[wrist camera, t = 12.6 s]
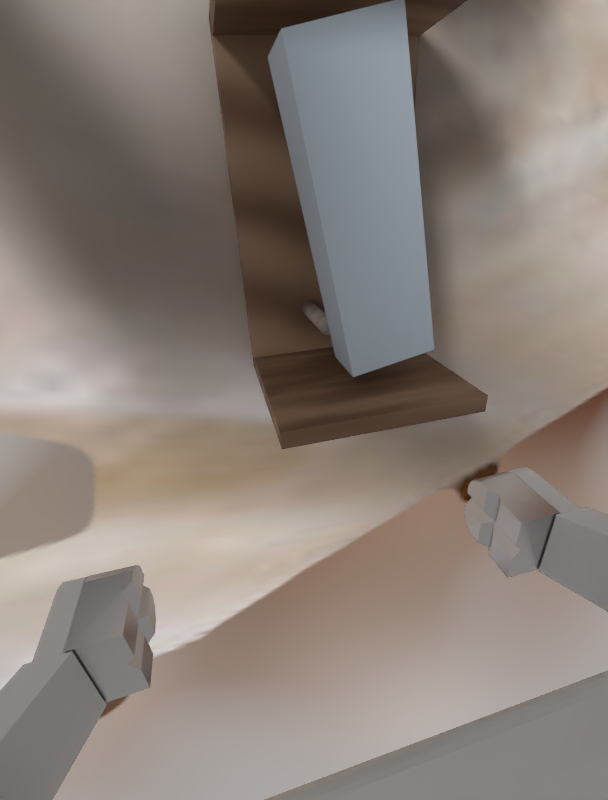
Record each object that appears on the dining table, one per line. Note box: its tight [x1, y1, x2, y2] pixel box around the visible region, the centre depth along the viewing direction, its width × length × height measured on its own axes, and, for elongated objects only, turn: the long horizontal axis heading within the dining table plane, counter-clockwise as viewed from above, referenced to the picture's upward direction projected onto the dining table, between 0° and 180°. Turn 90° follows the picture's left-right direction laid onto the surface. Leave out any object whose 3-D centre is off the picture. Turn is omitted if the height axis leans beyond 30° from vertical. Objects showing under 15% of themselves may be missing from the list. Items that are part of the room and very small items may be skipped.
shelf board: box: [268, 0, 434, 377], centre depth 24 cm, size 18×6×4 cm, turn 14°
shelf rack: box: [209, 0, 488, 449], centre depth 26 cm, size 24×14×14 cm, turn 4°
